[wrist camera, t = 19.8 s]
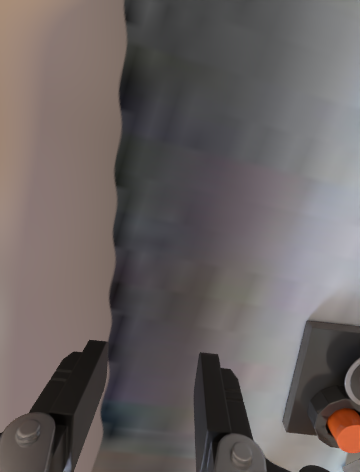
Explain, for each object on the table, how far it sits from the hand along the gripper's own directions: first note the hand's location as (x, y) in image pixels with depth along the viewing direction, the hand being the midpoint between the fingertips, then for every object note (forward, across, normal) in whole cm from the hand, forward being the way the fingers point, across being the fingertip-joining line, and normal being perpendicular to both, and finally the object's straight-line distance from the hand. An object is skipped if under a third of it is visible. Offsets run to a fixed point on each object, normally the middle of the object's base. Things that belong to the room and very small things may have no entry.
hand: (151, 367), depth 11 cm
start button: (+16, -21, +17) cm, 31 cm away
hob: (+19, -22, +14) cm, 32 cm away
